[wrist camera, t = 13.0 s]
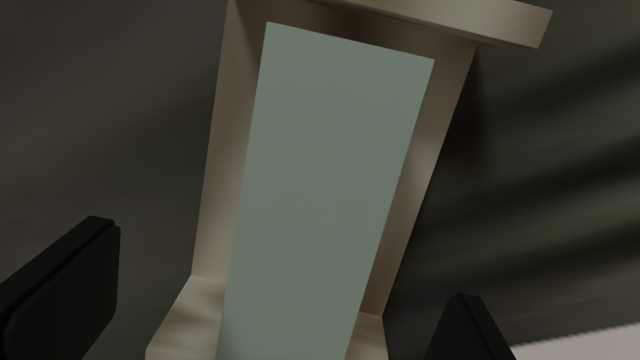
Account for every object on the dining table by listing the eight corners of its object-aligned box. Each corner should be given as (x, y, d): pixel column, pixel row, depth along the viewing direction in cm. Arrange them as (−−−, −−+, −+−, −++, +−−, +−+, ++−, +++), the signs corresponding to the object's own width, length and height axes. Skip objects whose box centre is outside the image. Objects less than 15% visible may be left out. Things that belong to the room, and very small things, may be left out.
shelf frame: (196, 277, 26) (144, 368, 19) (241, -40, 19) (187, -83, 12) (374, 315, 26) (387, 418, 19) (476, 19, 20) (553, 10, 13)
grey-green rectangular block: (284, 24, 15) (267, 21, 11) (410, 53, 15) (434, 59, 11) (235, 315, 20) (211, 380, 16) (331, 334, 20) (330, 403, 16)
